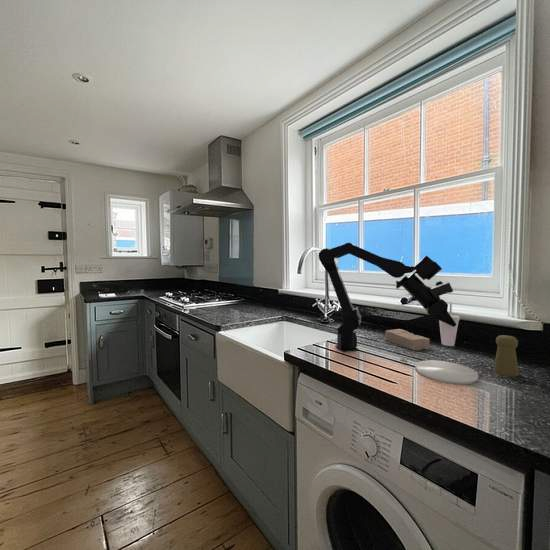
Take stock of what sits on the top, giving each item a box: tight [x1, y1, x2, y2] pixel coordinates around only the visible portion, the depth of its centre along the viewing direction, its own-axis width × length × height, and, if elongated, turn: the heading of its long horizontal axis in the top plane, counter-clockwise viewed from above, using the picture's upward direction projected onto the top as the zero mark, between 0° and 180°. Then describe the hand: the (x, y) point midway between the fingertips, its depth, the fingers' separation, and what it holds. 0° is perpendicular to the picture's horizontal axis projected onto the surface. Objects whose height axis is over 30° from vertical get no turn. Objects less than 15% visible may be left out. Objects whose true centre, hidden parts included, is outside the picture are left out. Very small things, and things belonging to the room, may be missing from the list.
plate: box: [414, 359, 479, 385], centre depth 87 cm, size 16×16×1 cm
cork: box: [492, 334, 520, 377], centre depth 87 cm, size 6×6×11 cm
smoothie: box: [438, 302, 461, 347], centre depth 99 cm, size 6×6×14 cm
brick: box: [385, 328, 431, 351], centre depth 118 cm, size 17×8×5 cm, turn 18°
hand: (453, 323), depth 98 cm, fingers closed on smoothie, 6 cm apart
